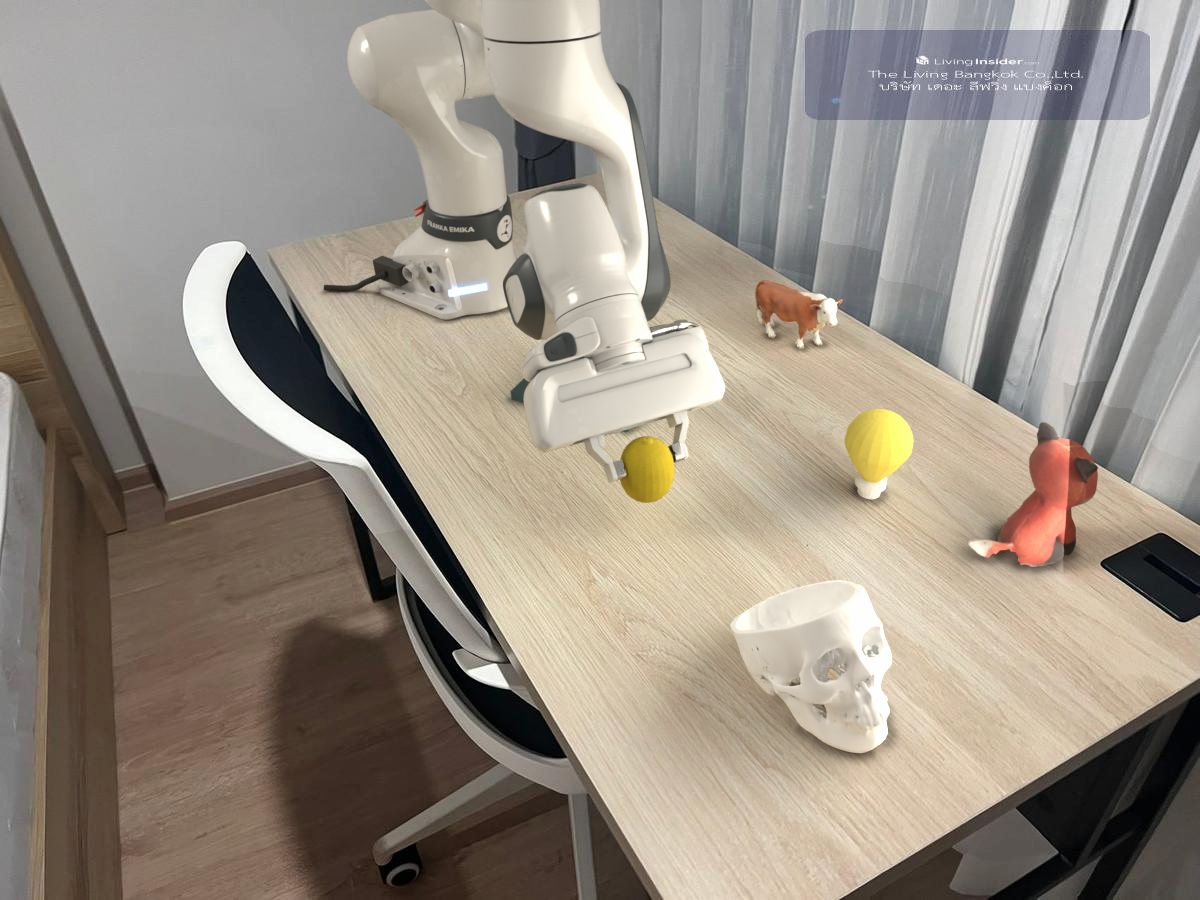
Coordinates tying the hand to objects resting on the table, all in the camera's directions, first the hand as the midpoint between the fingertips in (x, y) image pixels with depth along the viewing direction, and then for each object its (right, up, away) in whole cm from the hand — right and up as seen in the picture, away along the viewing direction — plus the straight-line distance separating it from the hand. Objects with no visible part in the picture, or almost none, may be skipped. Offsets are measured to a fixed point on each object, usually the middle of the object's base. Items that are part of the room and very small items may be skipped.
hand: (649, 470), depth 88 cm
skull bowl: (+13, -18, -12) cm, 25 cm away
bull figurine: (+21, +17, +33) cm, 42 cm away
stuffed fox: (+36, -8, 0) cm, 37 cm away
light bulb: (+24, -3, +7) cm, 25 cm away
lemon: (0, -3, +3) cm, 5 cm away
